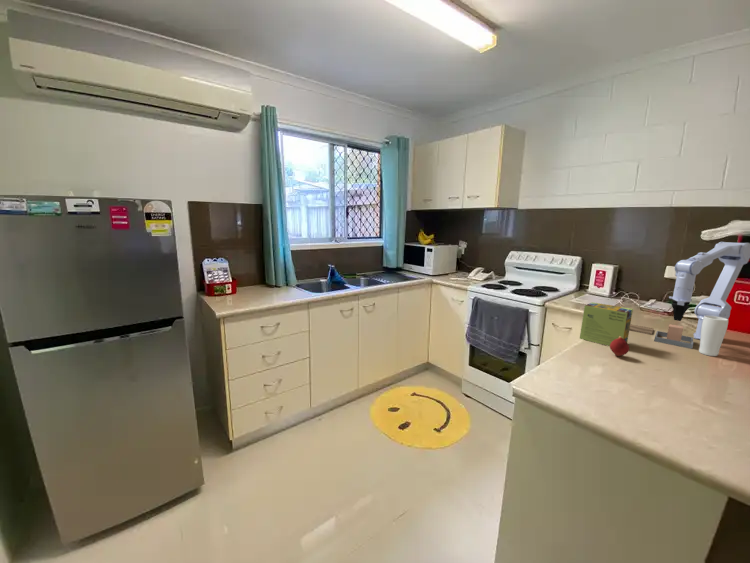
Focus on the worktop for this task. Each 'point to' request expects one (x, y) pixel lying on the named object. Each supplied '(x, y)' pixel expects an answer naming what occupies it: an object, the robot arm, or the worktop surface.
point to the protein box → (605, 323)
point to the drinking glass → (712, 334)
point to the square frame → (673, 342)
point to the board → (641, 329)
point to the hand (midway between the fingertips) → (677, 318)
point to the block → (675, 332)
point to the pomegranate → (619, 346)
